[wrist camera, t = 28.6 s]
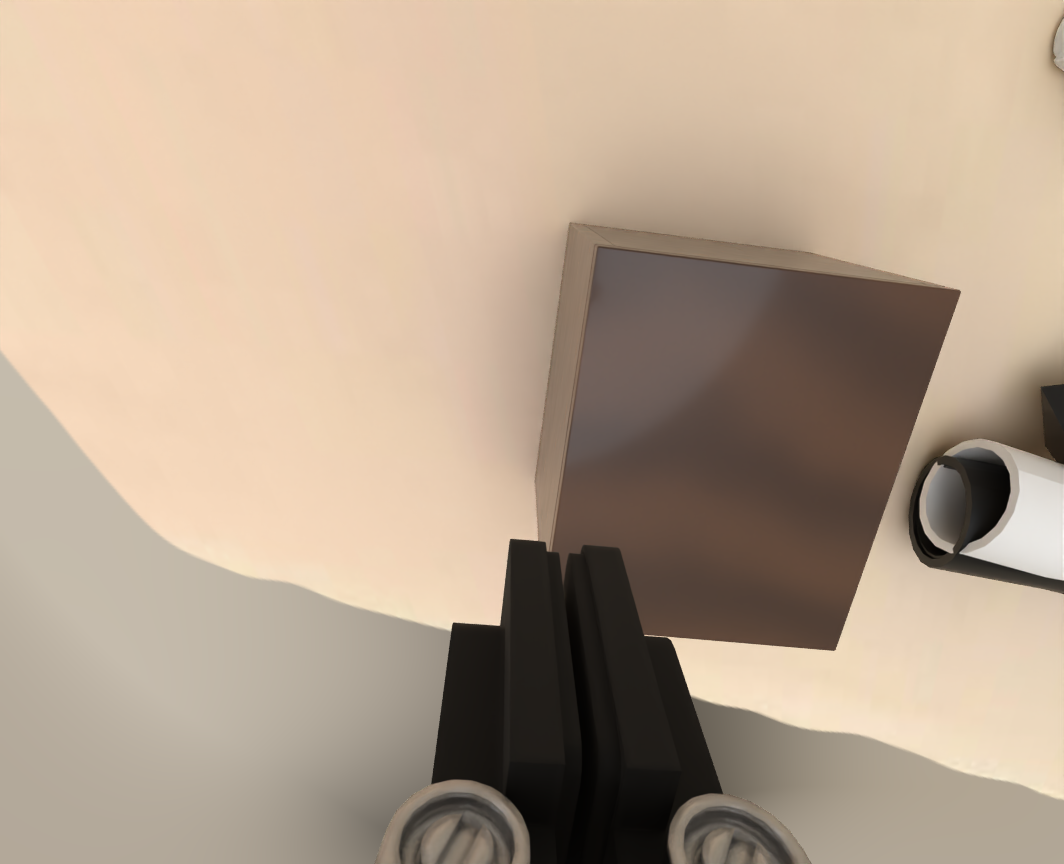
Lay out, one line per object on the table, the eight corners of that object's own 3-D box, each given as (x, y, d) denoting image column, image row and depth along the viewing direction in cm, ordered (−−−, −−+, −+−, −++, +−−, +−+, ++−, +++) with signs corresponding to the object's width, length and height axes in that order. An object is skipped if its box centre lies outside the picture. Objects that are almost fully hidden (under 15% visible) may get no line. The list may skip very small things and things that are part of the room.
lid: (828, 640, 30) (835, 651, 30) (539, 615, 30) (540, 626, 29) (949, 287, 25) (962, 290, 24) (594, 243, 24) (597, 245, 23)
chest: (744, 502, 42) (831, 624, 30) (534, 481, 41) (541, 599, 29) (811, 252, 36) (948, 287, 25) (569, 222, 35) (594, 243, 24)
